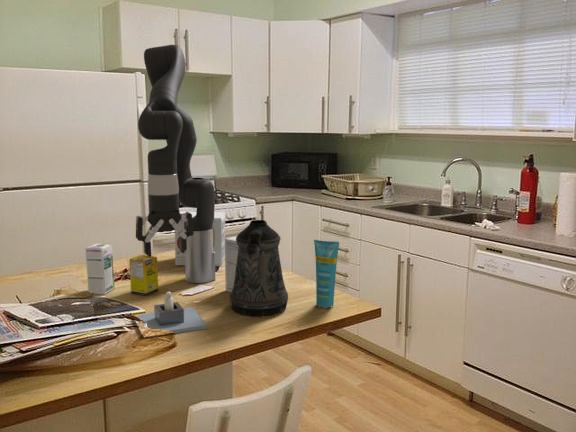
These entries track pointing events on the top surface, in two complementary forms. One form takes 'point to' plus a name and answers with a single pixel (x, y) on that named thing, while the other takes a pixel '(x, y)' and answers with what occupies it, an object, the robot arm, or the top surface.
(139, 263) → the supplement box
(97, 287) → the syrup box
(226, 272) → the supplement box
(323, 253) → the tube
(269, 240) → the dark ornate coffee pot
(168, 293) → the keeper plate
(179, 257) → the supplement box
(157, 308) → the tissue dispenser
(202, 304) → the top surface
